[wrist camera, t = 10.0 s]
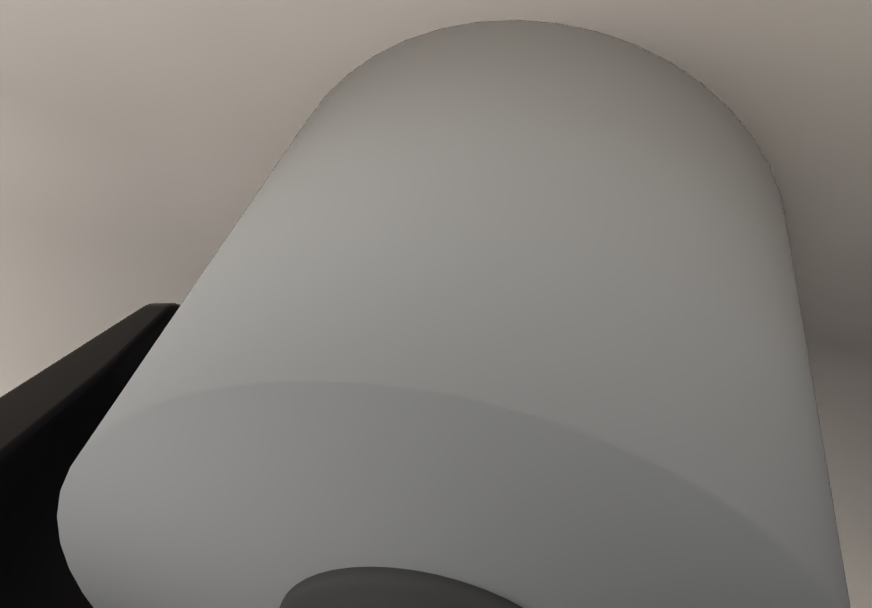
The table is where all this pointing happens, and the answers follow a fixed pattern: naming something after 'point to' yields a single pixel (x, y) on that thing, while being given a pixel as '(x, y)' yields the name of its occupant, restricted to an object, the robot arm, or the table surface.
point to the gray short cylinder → (480, 359)
